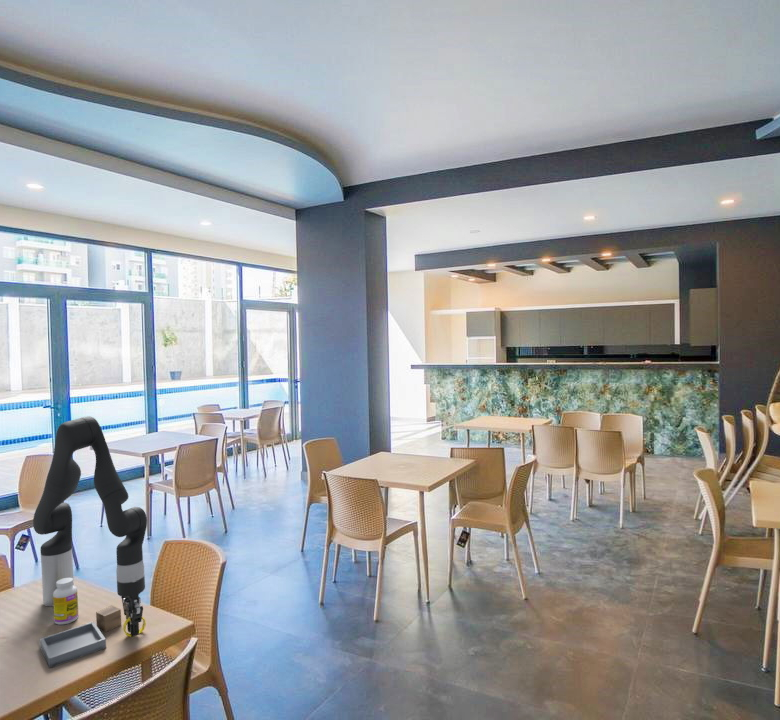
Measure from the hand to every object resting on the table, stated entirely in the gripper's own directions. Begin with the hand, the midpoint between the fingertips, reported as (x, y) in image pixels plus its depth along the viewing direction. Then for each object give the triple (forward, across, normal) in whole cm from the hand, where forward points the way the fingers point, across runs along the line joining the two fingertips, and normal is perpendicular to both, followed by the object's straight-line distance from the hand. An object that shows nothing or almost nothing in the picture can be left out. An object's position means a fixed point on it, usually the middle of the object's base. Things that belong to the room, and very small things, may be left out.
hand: (133, 632), depth 163 cm
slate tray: (+1, -5, -15) cm, 16 cm away
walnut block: (+1, -11, -4) cm, 12 cm away
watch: (+1, 0, 0) cm, 1 cm away
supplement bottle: (+1, -25, -13) cm, 28 cm away
